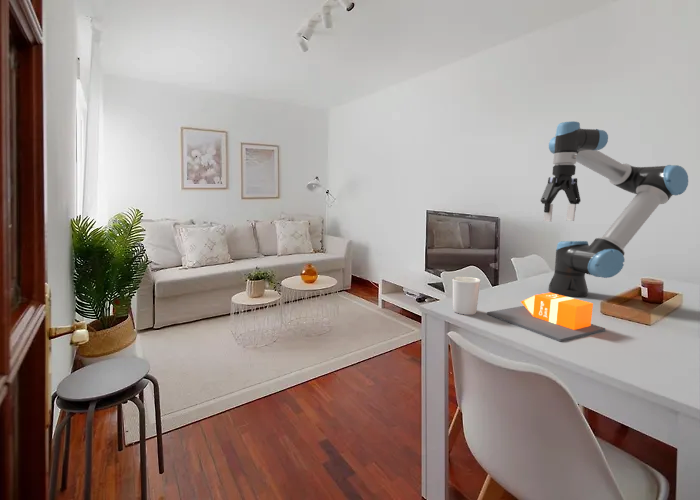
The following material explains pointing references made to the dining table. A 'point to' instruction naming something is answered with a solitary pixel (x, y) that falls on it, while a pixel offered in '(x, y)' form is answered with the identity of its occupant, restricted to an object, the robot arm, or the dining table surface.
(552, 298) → the orange juice
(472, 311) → the white cup
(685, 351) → the dining table surface
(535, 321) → the mat
